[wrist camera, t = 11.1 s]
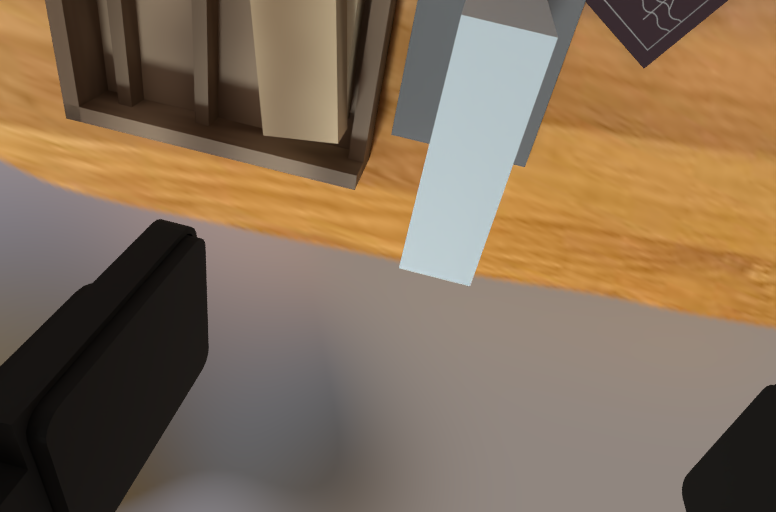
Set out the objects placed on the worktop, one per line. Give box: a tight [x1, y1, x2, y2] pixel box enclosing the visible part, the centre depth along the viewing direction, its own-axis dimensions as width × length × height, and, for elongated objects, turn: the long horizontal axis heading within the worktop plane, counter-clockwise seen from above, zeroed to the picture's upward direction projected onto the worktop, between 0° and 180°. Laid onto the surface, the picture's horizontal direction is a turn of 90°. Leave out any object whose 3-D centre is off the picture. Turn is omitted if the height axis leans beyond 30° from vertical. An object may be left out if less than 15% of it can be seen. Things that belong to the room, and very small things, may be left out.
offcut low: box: [347, 0, 365, 120], centre depth 25 cm, size 4×7×2 cm, turn 169°
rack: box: [45, 0, 397, 190], centre depth 26 cm, size 15×12×4 cm
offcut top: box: [250, 0, 347, 144], centre depth 24 cm, size 4×6×2 cm, turn 177°
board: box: [399, 0, 558, 286], centre depth 21 cm, size 2×8×12 cm, turn 169°
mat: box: [391, 0, 586, 167], centre depth 26 cm, size 7×10×1 cm
